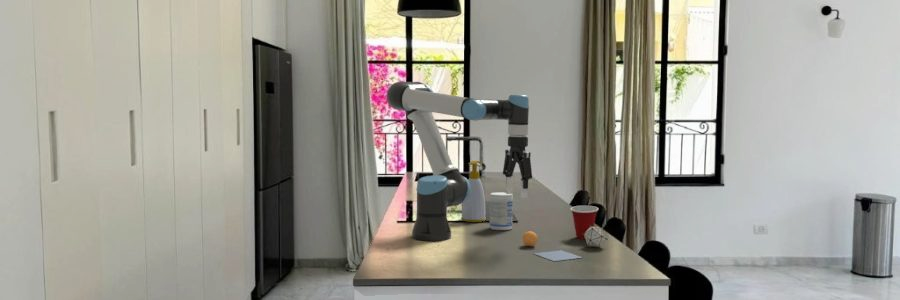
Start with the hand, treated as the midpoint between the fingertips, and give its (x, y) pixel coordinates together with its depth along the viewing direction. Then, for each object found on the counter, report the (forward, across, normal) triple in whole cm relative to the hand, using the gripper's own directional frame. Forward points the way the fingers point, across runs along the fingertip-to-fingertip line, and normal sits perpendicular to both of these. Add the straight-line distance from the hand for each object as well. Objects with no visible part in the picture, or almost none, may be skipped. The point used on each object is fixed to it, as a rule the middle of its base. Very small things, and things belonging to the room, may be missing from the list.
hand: (516, 195), depth 256 cm
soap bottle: (+18, +44, -7) cm, 48 cm away
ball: (+15, -10, 0) cm, 17 cm away
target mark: (+17, -26, 0) cm, 32 cm away
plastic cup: (+18, -6, -28) cm, 34 cm away
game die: (+18, -21, -21) cm, 34 cm away
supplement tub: (+18, +24, -8) cm, 31 cm away
